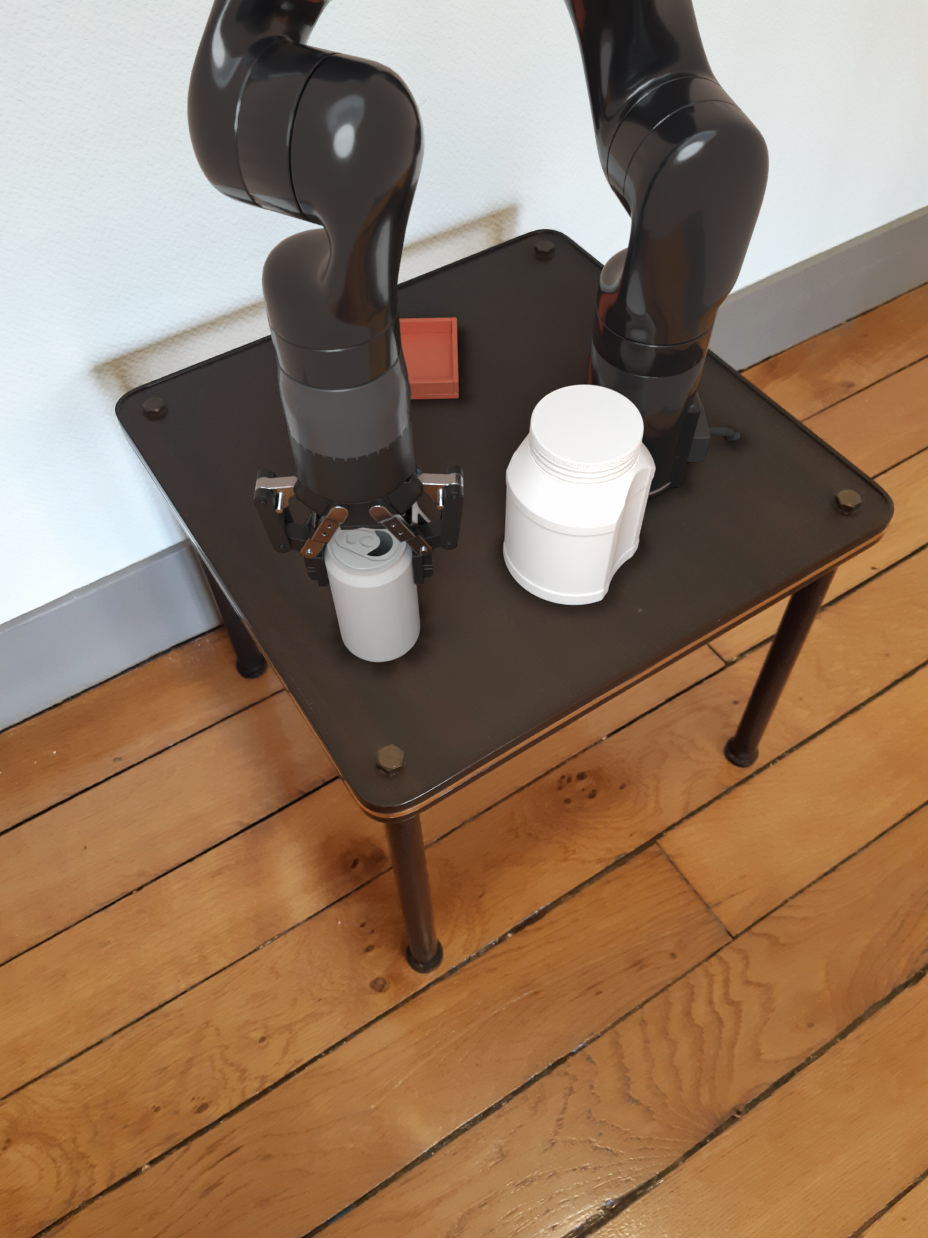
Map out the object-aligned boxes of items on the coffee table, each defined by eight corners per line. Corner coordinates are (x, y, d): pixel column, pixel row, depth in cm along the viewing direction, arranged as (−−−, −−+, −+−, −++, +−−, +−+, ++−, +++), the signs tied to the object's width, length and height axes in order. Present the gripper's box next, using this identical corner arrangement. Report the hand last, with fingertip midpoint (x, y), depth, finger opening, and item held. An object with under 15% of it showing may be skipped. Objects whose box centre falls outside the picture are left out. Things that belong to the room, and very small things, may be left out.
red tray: (457, 333, 97) (456, 316, 95) (458, 398, 92) (458, 381, 90) (363, 335, 97) (361, 318, 95) (360, 400, 92) (357, 384, 90)
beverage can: (410, 673, 74) (400, 582, 64) (332, 659, 75) (310, 568, 65) (428, 608, 78) (421, 512, 68) (353, 595, 78) (335, 499, 68)
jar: (555, 486, 85) (568, 354, 73) (650, 530, 82) (681, 400, 70) (487, 572, 80) (489, 445, 67) (586, 623, 77) (608, 499, 64)
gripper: (219, 456, 54) (271, 620, 68) (469, 451, 54) (470, 615, 68) (234, 367, 58) (280, 538, 72) (466, 363, 58) (468, 534, 72)
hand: (372, 575), depth 70 cm, fingers closed on beverage can, 6 cm apart
